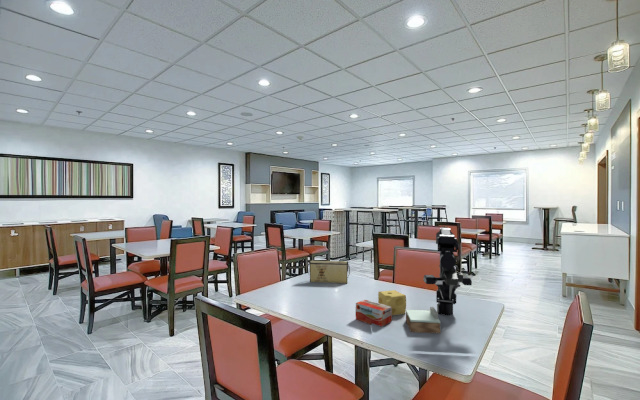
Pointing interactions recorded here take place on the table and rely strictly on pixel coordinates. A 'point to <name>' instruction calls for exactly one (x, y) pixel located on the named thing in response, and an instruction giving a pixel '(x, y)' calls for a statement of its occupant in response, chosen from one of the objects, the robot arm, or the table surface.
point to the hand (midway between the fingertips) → (447, 299)
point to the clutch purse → (328, 271)
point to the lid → (423, 315)
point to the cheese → (393, 301)
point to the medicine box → (373, 313)
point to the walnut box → (423, 326)
